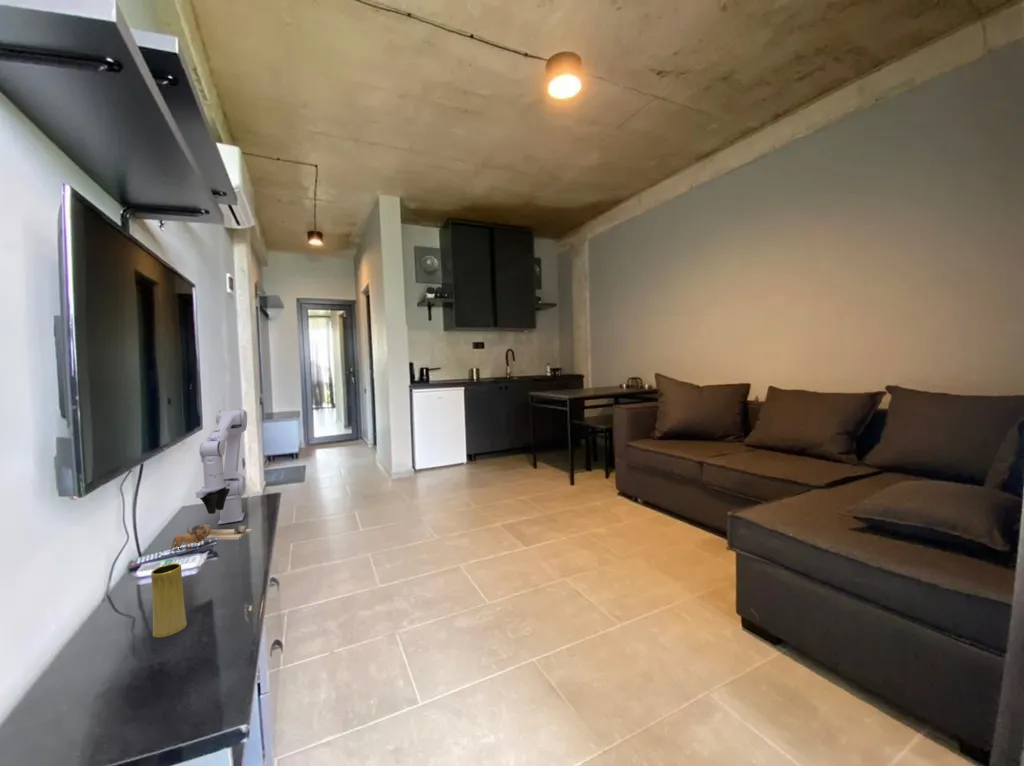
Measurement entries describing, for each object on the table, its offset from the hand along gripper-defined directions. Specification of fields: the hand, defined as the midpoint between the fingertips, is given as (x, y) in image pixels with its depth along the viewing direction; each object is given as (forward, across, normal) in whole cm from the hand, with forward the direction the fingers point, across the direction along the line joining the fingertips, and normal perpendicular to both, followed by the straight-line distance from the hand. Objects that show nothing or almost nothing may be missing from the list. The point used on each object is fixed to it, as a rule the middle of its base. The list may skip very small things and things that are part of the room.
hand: (215, 511), depth 150 cm
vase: (+9, +54, +31) cm, 63 cm away
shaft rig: (+9, 0, 0) cm, 9 cm away
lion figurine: (+9, +11, -1) cm, 14 cm away
